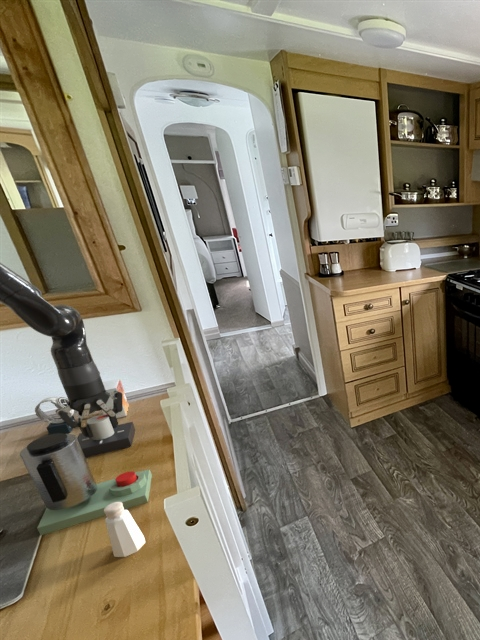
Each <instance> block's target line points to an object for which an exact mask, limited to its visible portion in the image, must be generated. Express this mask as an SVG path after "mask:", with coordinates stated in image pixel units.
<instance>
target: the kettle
mask: <svg viewBox="0 0 480 640" xmlns="http://www.w3.org/2000/svg"><path fill="white" fill-rule="evenodd" d="M77 437H78V436H77V435H75V434H72V433H67V434H64V433H57V434H51V435H49V434H48V435H43V436H42V437H38V438H36V439H34V440H32V441H31V442H29V443H28V444H27V445H26V446H25V447H24V448H23V449H21V450H20V452H19V456H20V458H21V461H23V465H24V466H25V468H26V470H27V472H28V474H29V476H30V478H31V480H32V482H33V484H34V486H35V488H36V490H37V492H38V494H39V496H40V498H41V499H42V502H43V504H44V506H45V508H48V509H50V510H61V509H66V508H69V507H72V506H75V505H77V504H79V503H81V502H83V501H85V500H87V499H88V498H90V497H91V496H92V495H93V494H94V493H95V492H96V491H97V488H98V487H97V484H98V483H97V482H96V480H95V477H94V475H93V473H92V470H91V468H90V465H89V463H88V461H87V457H86V458H85V456H84V454H83V451H82V449H81V447H80V444H79V442H78V439H77Z"/></svg>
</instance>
